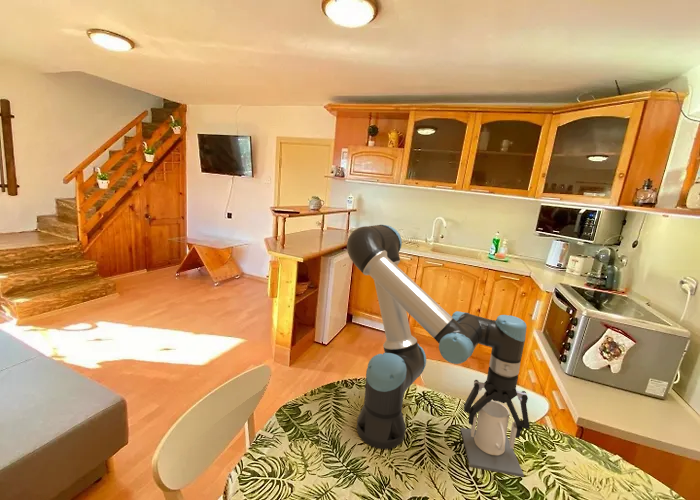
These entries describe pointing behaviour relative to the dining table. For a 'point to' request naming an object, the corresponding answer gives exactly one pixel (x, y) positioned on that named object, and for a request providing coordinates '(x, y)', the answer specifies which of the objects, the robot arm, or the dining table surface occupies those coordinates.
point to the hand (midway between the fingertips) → (491, 439)
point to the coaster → (490, 457)
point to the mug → (492, 428)
